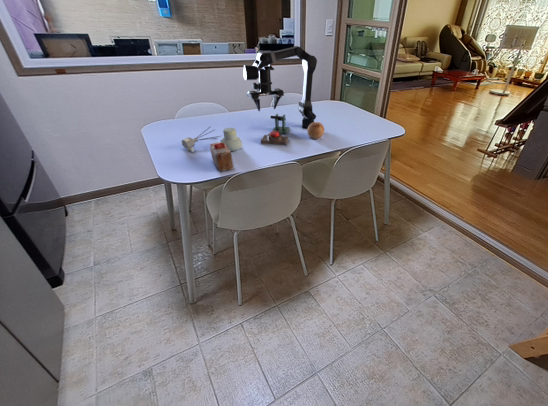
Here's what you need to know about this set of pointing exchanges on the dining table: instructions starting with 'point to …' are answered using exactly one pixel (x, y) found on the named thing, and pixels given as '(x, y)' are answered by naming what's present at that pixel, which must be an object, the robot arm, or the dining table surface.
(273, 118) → the switch lever
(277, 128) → the switch bracket
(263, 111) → the dining table surface
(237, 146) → the air freshener
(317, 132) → the onion
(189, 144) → the reed diffuser
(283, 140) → the button box
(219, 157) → the food item
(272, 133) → the push button
